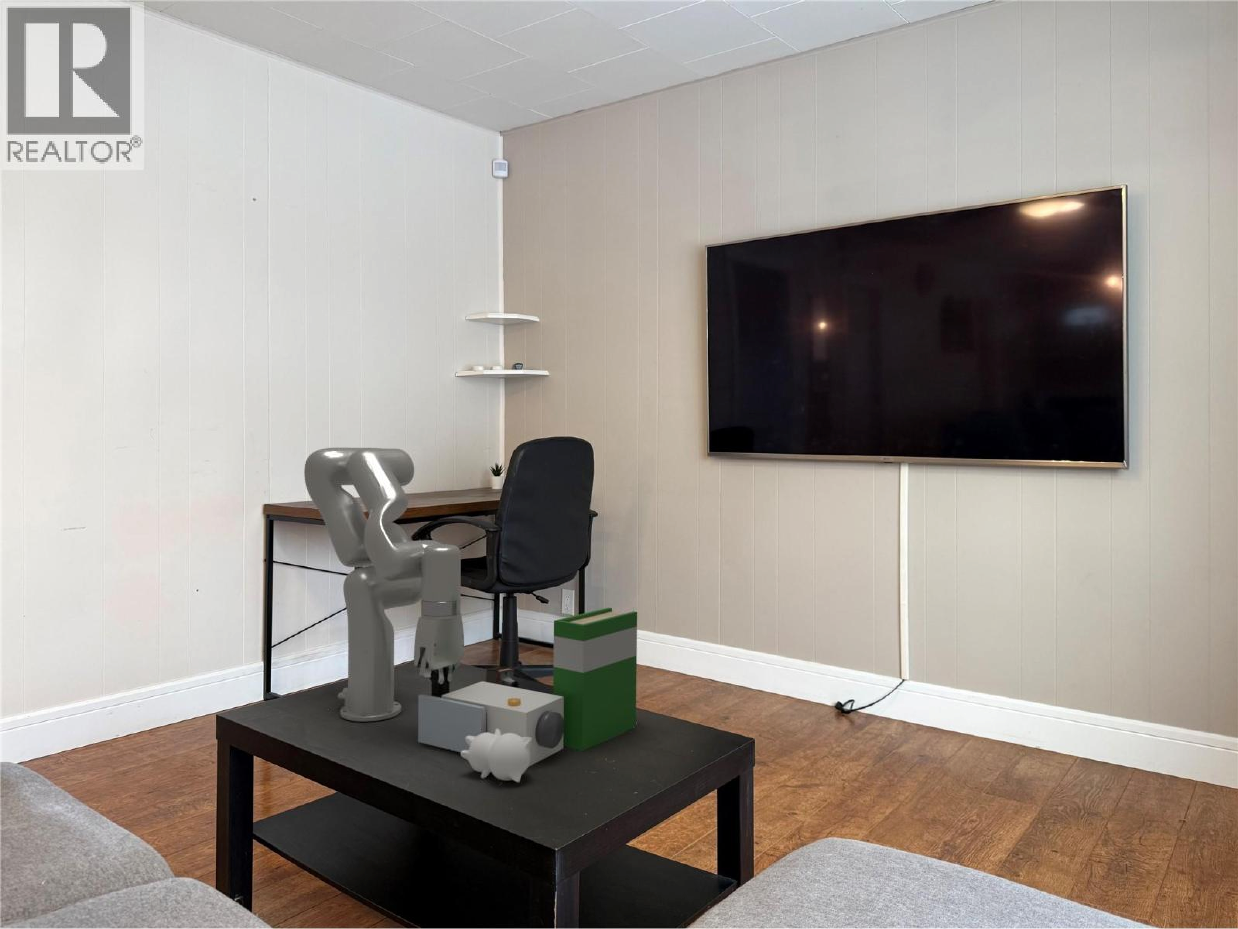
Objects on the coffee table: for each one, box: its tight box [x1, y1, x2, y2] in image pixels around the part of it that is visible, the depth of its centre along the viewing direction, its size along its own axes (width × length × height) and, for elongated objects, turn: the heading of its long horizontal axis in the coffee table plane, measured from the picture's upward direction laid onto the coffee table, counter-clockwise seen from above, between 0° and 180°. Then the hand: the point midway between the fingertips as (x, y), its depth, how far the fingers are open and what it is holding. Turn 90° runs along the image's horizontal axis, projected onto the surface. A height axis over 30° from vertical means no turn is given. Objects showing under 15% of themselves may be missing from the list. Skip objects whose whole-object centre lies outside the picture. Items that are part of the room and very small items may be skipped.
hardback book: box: [552, 607, 638, 752], centre depth 177 cm, size 18×7×24 cm, turn 144°
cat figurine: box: [460, 729, 532, 783], centre depth 156 cm, size 9×11×12 cm
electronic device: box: [485, 667, 520, 688], centre depth 199 cm, size 4×10×8 cm, turn 44°
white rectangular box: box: [442, 681, 564, 768], centre depth 168 cm, size 22×12×11 cm, turn 60°
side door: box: [417, 693, 486, 753], centre depth 167 cm, size 16×3×9 cm, turn 60°
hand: (440, 701), depth 173 cm, fingers closed
